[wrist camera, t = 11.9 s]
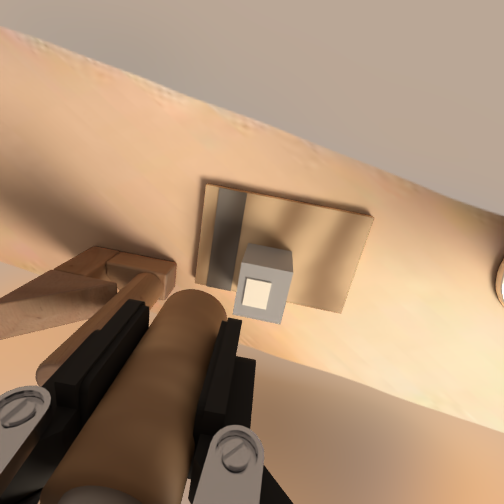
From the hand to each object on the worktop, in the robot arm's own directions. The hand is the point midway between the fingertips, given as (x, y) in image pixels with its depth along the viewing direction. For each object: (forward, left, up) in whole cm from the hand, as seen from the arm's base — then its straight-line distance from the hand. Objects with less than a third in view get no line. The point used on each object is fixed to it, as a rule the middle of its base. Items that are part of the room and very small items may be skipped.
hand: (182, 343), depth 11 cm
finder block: (-3, +7, -22) cm, 23 cm away
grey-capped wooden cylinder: (0, 0, -2) cm, 2 cm away
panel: (-4, +4, -23) cm, 24 cm away
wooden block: (+13, +10, -23) cm, 29 cm away
